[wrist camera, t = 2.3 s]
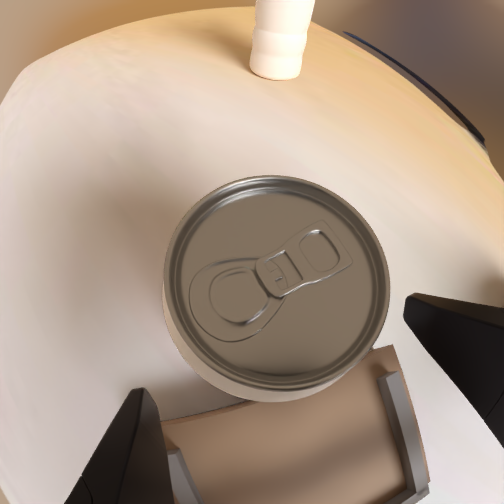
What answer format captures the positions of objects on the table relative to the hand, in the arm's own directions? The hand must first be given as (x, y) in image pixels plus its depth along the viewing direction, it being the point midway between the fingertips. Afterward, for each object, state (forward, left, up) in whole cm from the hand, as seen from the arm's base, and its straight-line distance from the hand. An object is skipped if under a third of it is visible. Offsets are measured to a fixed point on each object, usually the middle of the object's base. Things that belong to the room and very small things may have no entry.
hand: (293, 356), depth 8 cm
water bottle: (+36, 0, -10) cm, 38 cm away
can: (+2, +1, -10) cm, 10 cm away
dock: (-7, -3, -10) cm, 12 cm away
